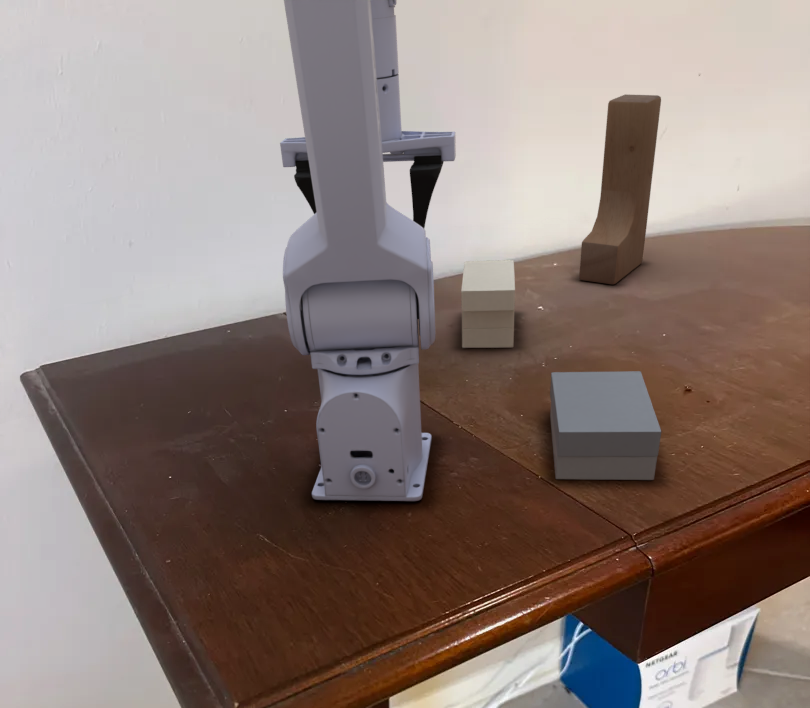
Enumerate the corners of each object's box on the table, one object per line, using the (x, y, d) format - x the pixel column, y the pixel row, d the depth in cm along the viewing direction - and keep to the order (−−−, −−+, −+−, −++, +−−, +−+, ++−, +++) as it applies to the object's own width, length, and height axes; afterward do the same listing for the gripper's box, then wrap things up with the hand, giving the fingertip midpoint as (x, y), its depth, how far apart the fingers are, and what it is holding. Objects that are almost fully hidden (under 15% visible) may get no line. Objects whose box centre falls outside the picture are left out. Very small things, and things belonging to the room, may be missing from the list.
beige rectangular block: (514, 310, 76) (515, 289, 75) (461, 311, 77) (461, 290, 76) (513, 279, 84) (513, 259, 83) (464, 280, 84) (464, 261, 83)
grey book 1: (657, 456, 57) (661, 431, 56) (557, 456, 58) (559, 431, 57) (638, 394, 65) (640, 371, 64) (550, 394, 66) (551, 372, 65)
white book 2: (513, 347, 79) (513, 328, 78) (462, 348, 80) (461, 328, 79) (513, 314, 87) (513, 295, 85) (466, 315, 87) (466, 296, 86)
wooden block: (614, 286, 92) (632, 108, 82) (577, 280, 94) (590, 106, 84) (643, 263, 98) (662, 94, 88) (607, 258, 100) (622, 93, 90)
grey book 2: (654, 480, 59) (657, 456, 57) (555, 479, 59) (557, 455, 58) (636, 416, 67) (639, 394, 65) (550, 416, 67) (551, 394, 66)
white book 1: (513, 328, 78) (514, 307, 77) (461, 328, 79) (461, 308, 78) (513, 295, 85) (514, 276, 84) (466, 296, 86) (466, 277, 85)
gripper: (456, 66, 67) (459, 235, 75) (285, 74, 69) (305, 238, 77) (451, 76, 62) (454, 258, 69) (265, 85, 63) (289, 262, 71)
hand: (375, 249), depth 73 cm, fingers open, 7 cm apart
